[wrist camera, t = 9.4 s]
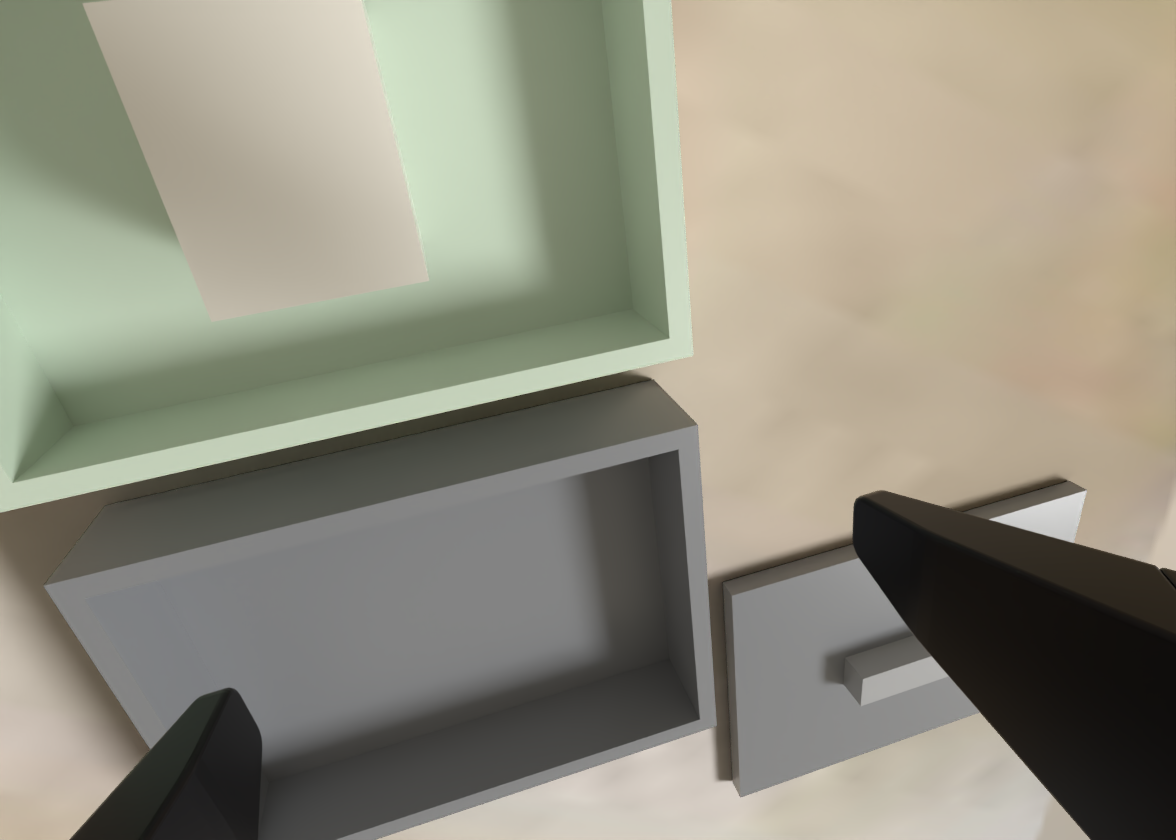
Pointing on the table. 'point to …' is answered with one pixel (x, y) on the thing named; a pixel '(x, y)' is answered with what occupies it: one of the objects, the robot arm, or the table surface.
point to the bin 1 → (354, 323)
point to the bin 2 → (420, 609)
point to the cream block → (267, 146)
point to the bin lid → (843, 656)
